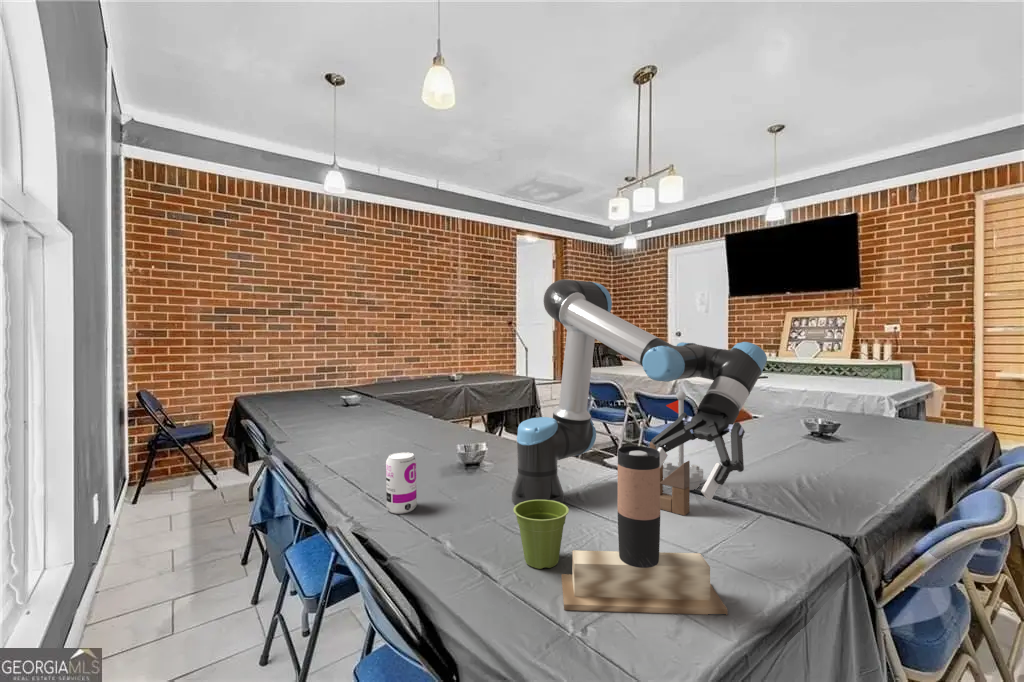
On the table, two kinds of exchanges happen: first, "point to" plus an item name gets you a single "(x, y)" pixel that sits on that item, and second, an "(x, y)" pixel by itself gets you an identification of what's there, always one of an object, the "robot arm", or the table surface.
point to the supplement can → (401, 482)
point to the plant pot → (541, 531)
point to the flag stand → (682, 449)
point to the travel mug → (639, 505)
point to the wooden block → (676, 489)
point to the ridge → (640, 585)
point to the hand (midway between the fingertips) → (675, 485)
